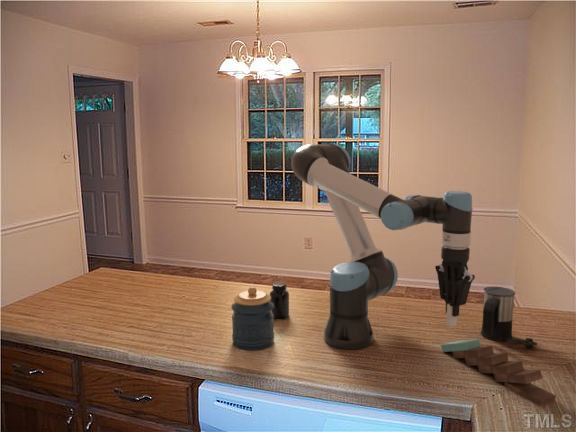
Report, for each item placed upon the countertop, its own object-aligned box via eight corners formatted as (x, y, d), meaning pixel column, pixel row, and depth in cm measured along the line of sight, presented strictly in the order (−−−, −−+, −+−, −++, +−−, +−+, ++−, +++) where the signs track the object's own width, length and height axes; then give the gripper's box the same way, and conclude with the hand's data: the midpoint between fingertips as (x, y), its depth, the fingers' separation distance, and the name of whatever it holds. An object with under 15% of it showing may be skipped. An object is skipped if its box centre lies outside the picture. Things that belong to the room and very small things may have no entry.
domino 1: (440, 344, 140) (465, 342, 131) (454, 341, 142) (478, 339, 134) (442, 351, 140) (467, 350, 131) (456, 348, 142) (480, 346, 133)
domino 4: (493, 368, 130) (524, 369, 121) (479, 372, 127) (509, 373, 119) (491, 360, 130) (521, 361, 121) (477, 365, 128) (507, 365, 119)
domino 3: (480, 361, 133) (508, 360, 125) (466, 365, 131) (494, 364, 122) (478, 354, 134) (506, 352, 125) (464, 358, 132) (491, 356, 123)
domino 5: (510, 376, 125) (542, 378, 116) (495, 381, 123) (527, 383, 114) (508, 368, 125) (540, 369, 116) (493, 373, 123) (525, 374, 114)
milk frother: (481, 327, 157) (484, 284, 154) (535, 335, 150) (539, 290, 148) (478, 345, 144) (481, 298, 142) (537, 354, 137) (541, 305, 135)
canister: (227, 337, 151) (225, 283, 148) (265, 330, 156) (264, 278, 153) (239, 354, 139) (238, 296, 136) (280, 346, 144) (280, 290, 141)
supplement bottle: (266, 318, 166) (266, 285, 164) (274, 311, 172) (274, 279, 170) (284, 321, 164) (284, 287, 162) (292, 314, 170) (291, 281, 168)
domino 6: (518, 384, 123) (555, 403, 114) (504, 389, 121) (541, 409, 112) (518, 376, 123) (555, 395, 114) (504, 381, 120) (541, 401, 111)
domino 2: (467, 354, 138) (494, 353, 129) (454, 358, 136) (479, 357, 127) (465, 347, 138) (491, 345, 130) (452, 351, 136) (477, 349, 127)
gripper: (429, 243, 139) (425, 320, 143) (463, 252, 128) (459, 336, 132) (448, 240, 142) (444, 315, 146) (483, 249, 131) (478, 331, 135)
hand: (451, 325), depth 139 cm, fingers closed
